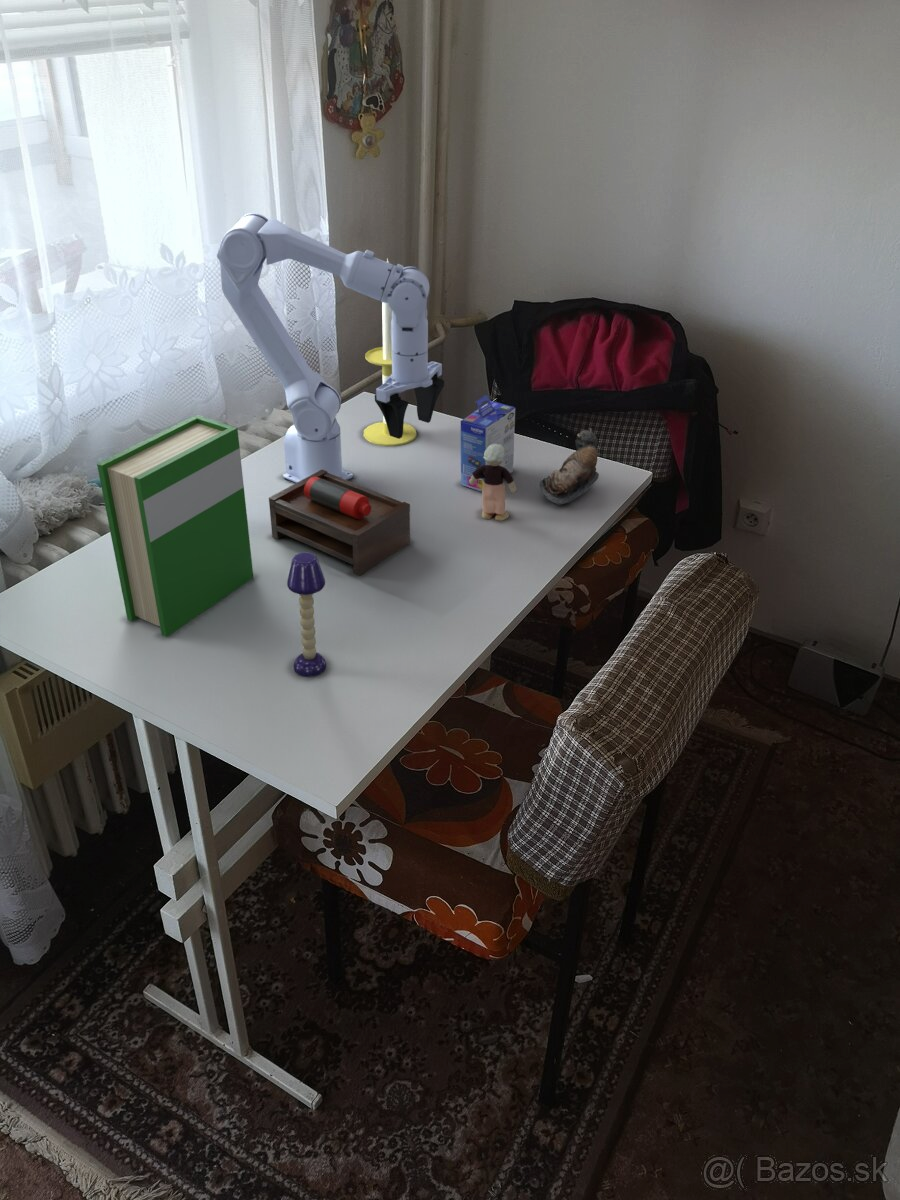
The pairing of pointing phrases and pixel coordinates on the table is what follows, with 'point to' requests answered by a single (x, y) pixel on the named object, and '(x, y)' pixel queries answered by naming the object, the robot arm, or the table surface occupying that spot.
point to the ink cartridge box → (486, 438)
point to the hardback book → (178, 521)
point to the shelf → (342, 524)
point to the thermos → (337, 498)
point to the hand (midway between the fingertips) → (410, 428)
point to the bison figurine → (573, 472)
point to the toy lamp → (307, 610)
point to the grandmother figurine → (494, 483)
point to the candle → (383, 357)
